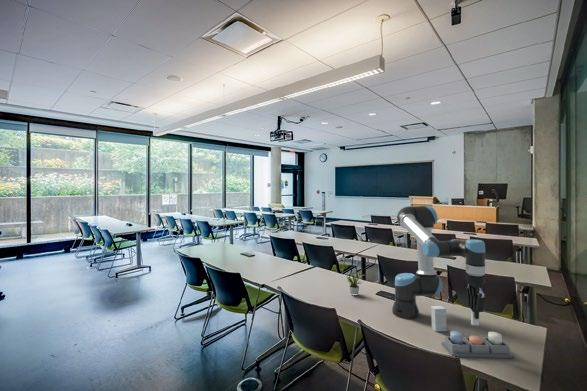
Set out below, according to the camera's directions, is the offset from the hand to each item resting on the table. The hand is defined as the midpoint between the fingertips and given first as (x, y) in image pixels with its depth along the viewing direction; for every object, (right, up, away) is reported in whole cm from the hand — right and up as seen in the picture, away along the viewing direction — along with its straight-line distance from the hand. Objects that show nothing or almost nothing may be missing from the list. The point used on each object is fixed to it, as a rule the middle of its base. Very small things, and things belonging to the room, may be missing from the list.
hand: (475, 324), depth 131 cm
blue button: (-8, -8, 0) cm, 11 cm away
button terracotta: (0, -10, 0) cm, 10 cm away
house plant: (-39, -12, +74) cm, 84 cm away
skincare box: (-6, -12, +20) cm, 24 cm away
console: (0, -12, 0) cm, 12 cm away
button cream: (+9, -8, -1) cm, 12 cm away
